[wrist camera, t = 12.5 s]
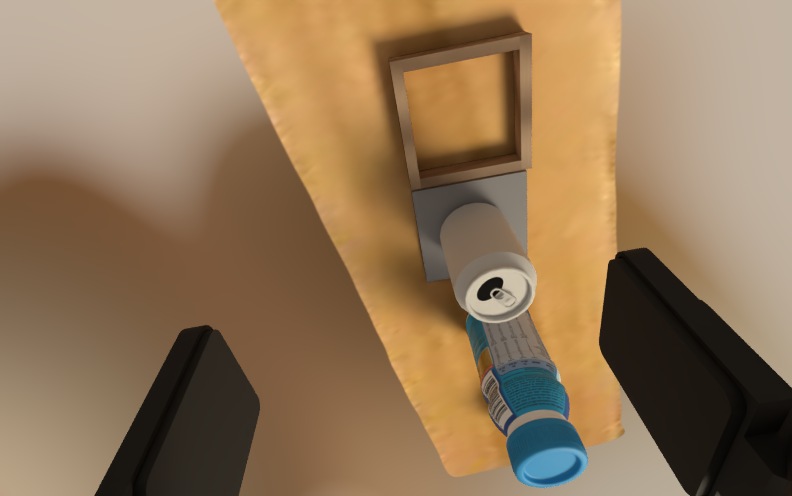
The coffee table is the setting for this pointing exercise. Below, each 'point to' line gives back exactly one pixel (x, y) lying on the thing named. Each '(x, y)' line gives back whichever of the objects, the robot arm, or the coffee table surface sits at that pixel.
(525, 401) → the beverage bottle
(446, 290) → the coffee table surface
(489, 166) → the wooden picture frame
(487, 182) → the mat
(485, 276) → the can
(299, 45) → the coffee table surface
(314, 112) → the coffee table surface
